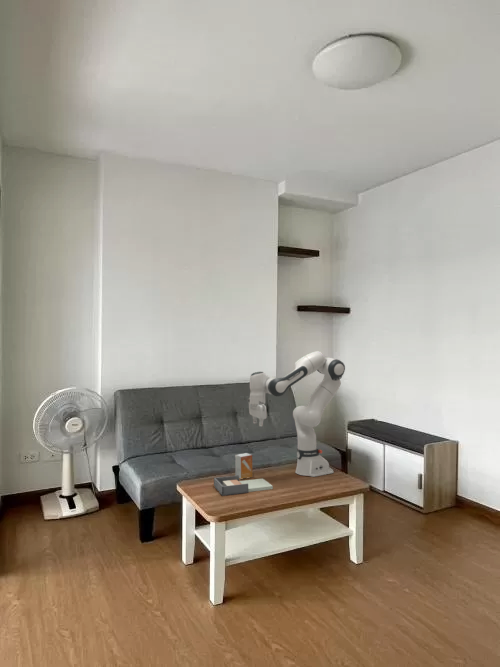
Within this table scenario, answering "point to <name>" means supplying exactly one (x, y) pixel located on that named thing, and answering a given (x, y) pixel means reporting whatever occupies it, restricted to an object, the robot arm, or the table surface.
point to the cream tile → (227, 483)
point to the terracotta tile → (235, 482)
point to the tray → (232, 488)
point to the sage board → (257, 485)
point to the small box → (243, 465)
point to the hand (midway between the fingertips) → (258, 425)
